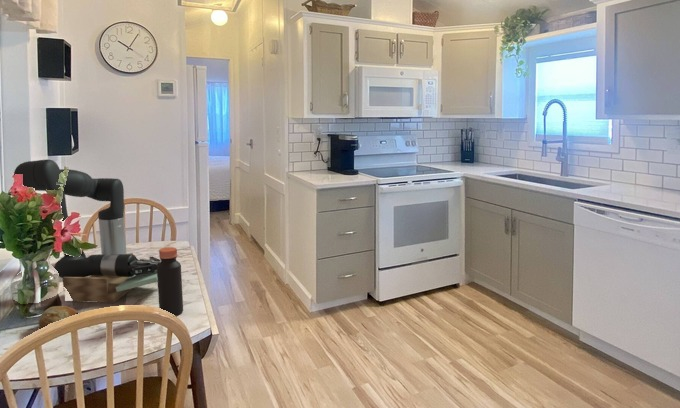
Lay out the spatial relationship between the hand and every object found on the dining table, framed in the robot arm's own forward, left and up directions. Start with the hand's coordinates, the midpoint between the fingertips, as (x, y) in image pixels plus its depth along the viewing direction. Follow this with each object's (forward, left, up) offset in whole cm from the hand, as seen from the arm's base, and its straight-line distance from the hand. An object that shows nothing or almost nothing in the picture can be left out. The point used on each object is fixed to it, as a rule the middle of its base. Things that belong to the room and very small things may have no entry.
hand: (170, 266), depth 156 cm
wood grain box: (-12, -20, -9) cm, 25 cm away
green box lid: (-8, -13, -6) cm, 16 cm away
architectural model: (-31, -12, -10) cm, 35 cm away
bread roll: (+12, -32, -10) cm, 36 cm away
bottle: (+16, -3, -10) cm, 19 cm away
